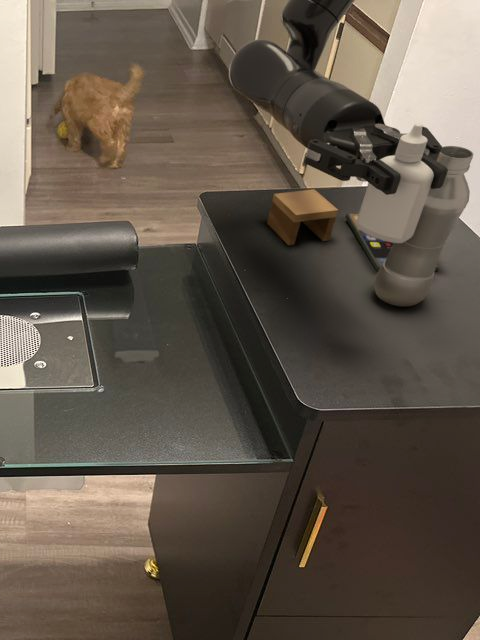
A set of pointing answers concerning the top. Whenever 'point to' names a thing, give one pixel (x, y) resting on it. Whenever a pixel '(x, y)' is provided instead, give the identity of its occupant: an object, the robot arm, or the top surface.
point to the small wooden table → (301, 214)
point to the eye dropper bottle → (399, 193)
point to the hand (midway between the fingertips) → (418, 182)
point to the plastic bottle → (426, 235)
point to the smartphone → (372, 244)
